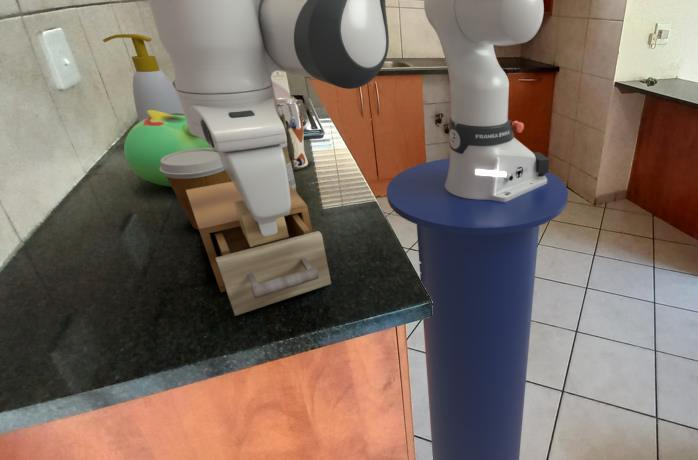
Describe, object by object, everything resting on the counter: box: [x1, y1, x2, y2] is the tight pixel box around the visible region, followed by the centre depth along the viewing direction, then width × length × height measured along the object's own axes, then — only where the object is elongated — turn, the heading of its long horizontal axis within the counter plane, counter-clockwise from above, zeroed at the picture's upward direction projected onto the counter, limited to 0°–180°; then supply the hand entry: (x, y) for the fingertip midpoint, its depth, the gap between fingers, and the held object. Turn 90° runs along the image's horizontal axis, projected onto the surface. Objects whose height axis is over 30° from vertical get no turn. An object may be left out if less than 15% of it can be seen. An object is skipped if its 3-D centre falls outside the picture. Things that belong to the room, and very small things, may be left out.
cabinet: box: [186, 181, 313, 293], centre depth 64 cm, size 15×13×10 cm
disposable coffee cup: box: [159, 148, 231, 231], centre depth 72 cm, size 10×10×12 cm
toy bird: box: [123, 110, 212, 187], centre depth 86 cm, size 18×17×15 cm
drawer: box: [213, 213, 332, 317], centre depth 56 cm, size 18×12×8 cm, turn 39°
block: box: [234, 200, 289, 247], centre depth 53 cm, size 4×4×4 cm
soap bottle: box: [102, 33, 184, 123], centre depth 100 cm, size 11×12×26 cm
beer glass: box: [276, 97, 310, 171], centre depth 96 cm, size 7×7×15 cm
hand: (263, 223), depth 54 cm, fingers closed on block, 4 cm apart
